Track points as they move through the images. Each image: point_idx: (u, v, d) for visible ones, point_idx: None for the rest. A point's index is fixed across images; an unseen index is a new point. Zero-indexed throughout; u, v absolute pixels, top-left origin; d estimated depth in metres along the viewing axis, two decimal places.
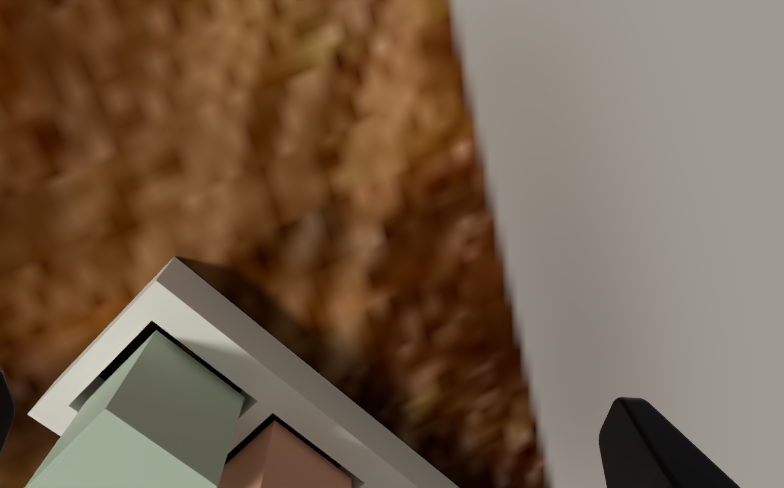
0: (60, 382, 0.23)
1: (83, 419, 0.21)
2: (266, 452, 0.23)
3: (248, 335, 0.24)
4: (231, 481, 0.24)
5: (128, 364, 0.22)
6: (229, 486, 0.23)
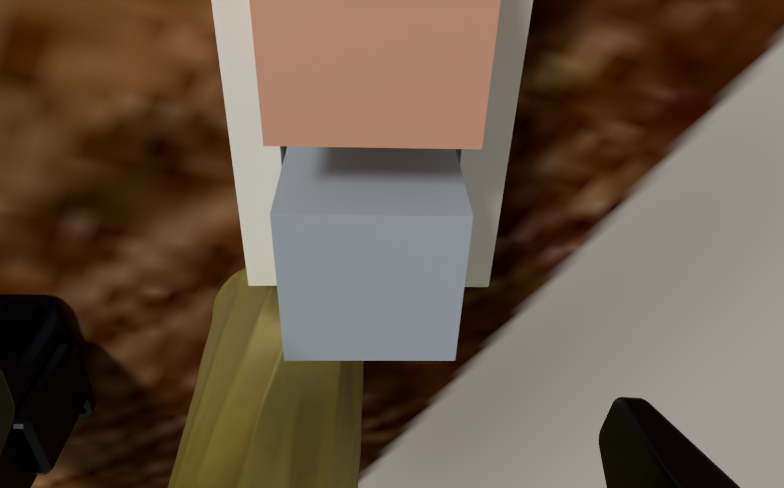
0: None
1: None
2: None
3: None
4: None
5: None
6: None
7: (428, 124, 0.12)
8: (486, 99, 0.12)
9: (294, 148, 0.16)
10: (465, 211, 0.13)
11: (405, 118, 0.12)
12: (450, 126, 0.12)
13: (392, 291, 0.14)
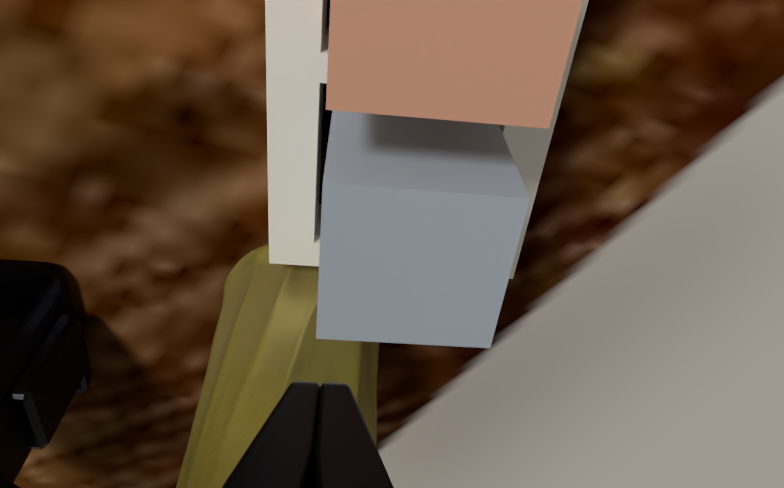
0: None
1: None
2: None
3: None
4: None
5: None
6: None
7: (498, 98, 0.12)
8: (561, 76, 0.11)
9: (338, 120, 0.15)
10: (521, 193, 0.13)
11: (475, 90, 0.12)
12: (520, 102, 0.12)
13: (437, 271, 0.14)
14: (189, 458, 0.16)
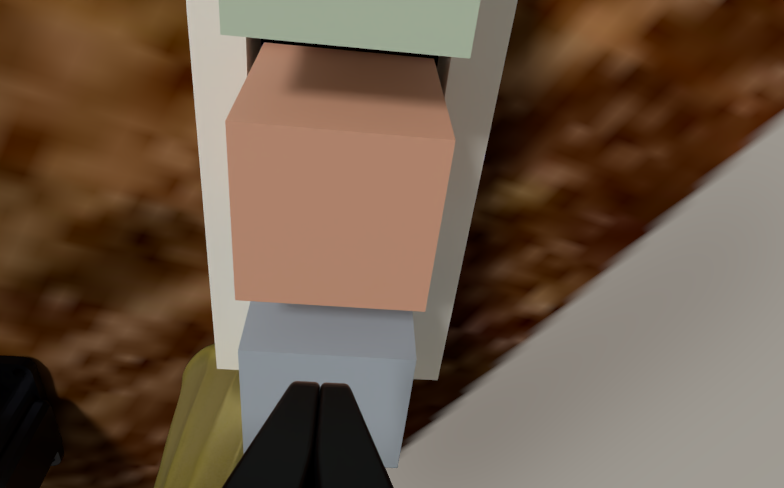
0: None
1: None
2: (435, 83, 0.14)
3: None
4: (349, 73, 0.14)
5: None
6: (347, 77, 0.14)
7: (379, 291, 0.14)
8: (429, 276, 0.14)
9: None
10: (410, 354, 0.15)
11: (360, 286, 0.14)
12: (398, 294, 0.14)
13: None
14: None
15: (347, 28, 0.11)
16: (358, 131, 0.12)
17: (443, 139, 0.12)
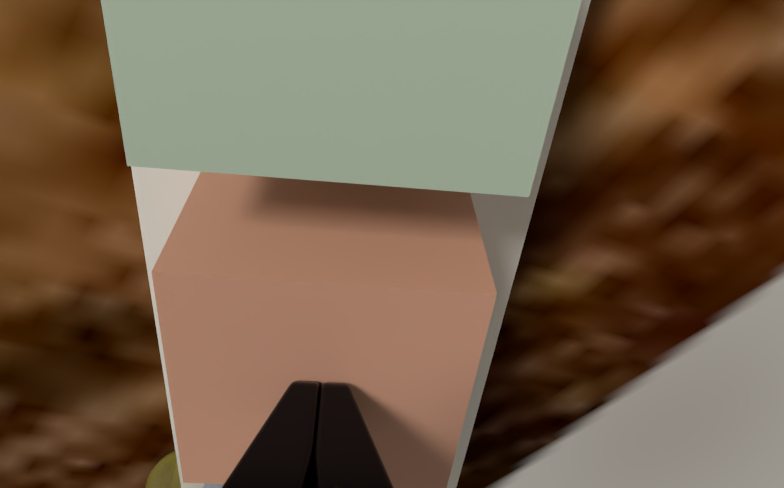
0: None
1: None
2: None
3: None
4: None
5: None
6: None
7: None
8: (453, 454, 0.10)
9: None
10: None
11: None
12: (409, 473, 0.10)
13: None
14: None
15: (333, 155, 0.06)
16: (353, 282, 0.08)
17: (479, 292, 0.08)
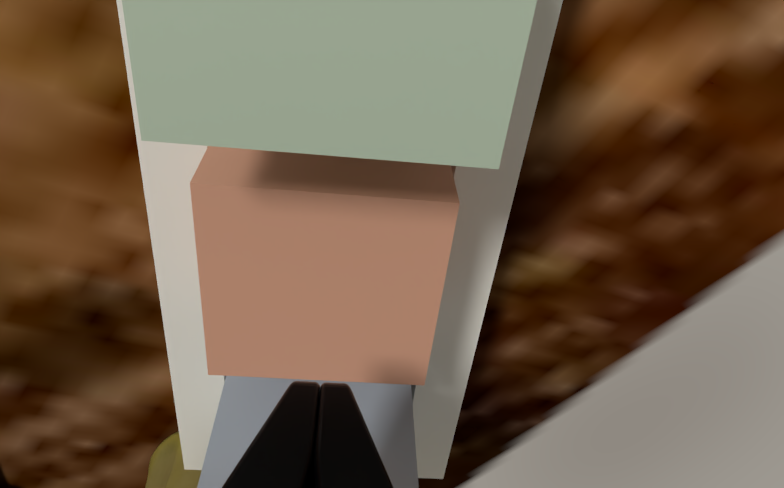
0: None
1: None
2: None
3: None
4: None
5: None
6: None
7: (372, 364, 0.12)
8: (429, 348, 0.12)
9: (234, 379, 0.14)
10: None
11: (350, 359, 0.12)
12: (394, 367, 0.12)
13: None
14: None
15: (323, 131, 0.07)
16: (346, 193, 0.10)
17: (445, 202, 0.10)
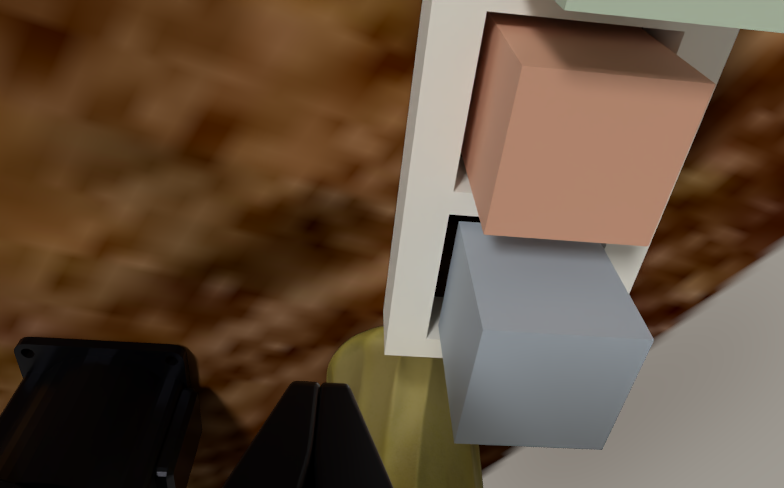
0: None
1: None
2: (655, 42, 0.16)
3: None
4: (580, 33, 0.16)
5: None
6: (581, 35, 0.16)
7: (612, 226, 0.16)
8: (661, 212, 0.15)
9: (473, 254, 0.18)
10: (645, 334, 0.15)
11: (596, 221, 0.15)
12: (629, 229, 0.16)
13: (567, 393, 0.16)
14: None
15: (688, 4, 0.11)
16: (633, 76, 0.13)
17: (704, 83, 0.13)
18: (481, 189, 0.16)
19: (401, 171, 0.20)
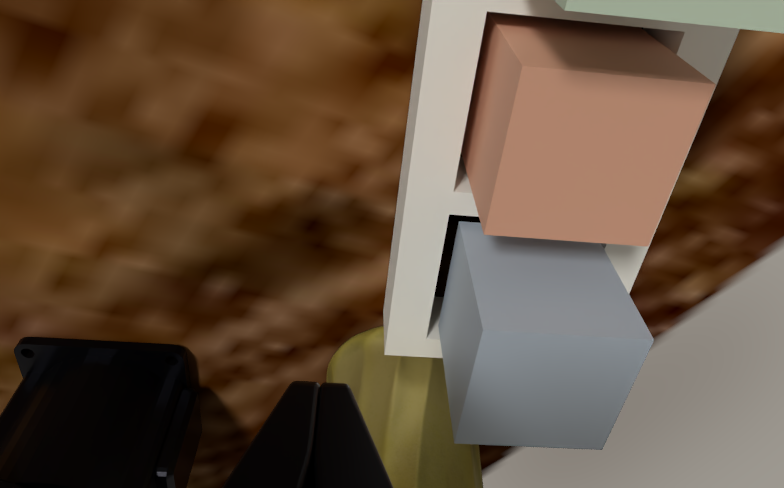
0: None
1: None
2: (655, 42, 0.16)
3: None
4: (580, 33, 0.16)
5: None
6: (581, 35, 0.16)
7: (612, 226, 0.16)
8: (661, 212, 0.15)
9: (473, 254, 0.18)
10: (645, 334, 0.15)
11: (597, 221, 0.15)
12: (629, 229, 0.16)
13: (566, 393, 0.16)
14: None
15: (689, 4, 0.11)
16: (633, 76, 0.13)
17: (704, 83, 0.13)
18: (481, 189, 0.16)
19: (401, 171, 0.20)
